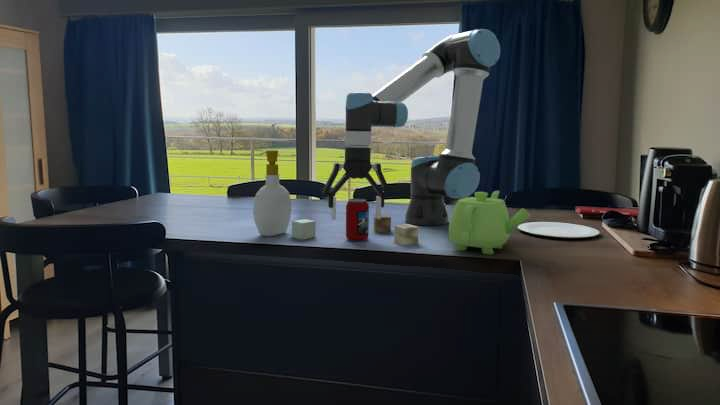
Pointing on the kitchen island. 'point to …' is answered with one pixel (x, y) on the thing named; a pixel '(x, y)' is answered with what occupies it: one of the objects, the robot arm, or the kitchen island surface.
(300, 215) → the kitchen island surface
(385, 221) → the walnut cube
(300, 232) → the sage painted cube
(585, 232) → the plate
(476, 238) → the teapot
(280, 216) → the soap bottle
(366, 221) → the beverage can
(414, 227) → the maple cube
